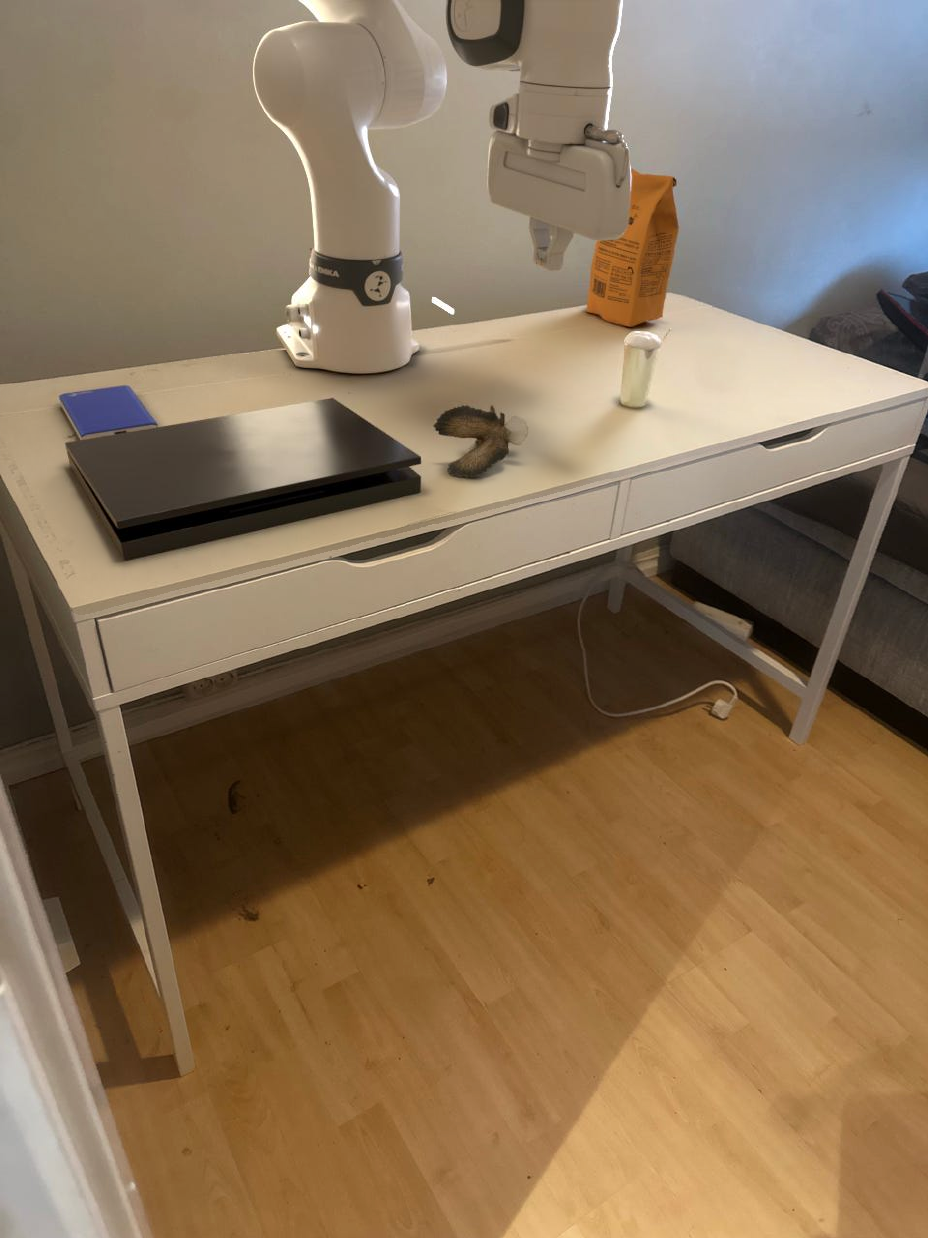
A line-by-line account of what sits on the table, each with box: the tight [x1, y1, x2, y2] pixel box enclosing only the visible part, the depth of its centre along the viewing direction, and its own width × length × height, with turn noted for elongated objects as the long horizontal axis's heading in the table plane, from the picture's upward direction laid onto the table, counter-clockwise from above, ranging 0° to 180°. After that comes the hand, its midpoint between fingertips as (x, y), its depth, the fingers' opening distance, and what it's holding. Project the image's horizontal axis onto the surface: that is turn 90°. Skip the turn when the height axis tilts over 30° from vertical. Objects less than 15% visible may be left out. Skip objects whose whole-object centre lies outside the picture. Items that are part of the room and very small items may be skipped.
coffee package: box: [585, 167, 680, 328], centre depth 141 cm, size 10×12×22 cm
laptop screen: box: [64, 397, 422, 529], centre depth 91 cm, size 21×30×1 cm
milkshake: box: [619, 328, 672, 409], centre depth 113 cm, size 4×5×10 cm
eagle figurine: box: [433, 404, 529, 478], centre depth 97 cm, size 8×7×9 cm
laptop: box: [66, 450, 422, 561], centre depth 92 cm, size 21×30×2 cm
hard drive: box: [58, 384, 159, 440], centre depth 102 cm, size 2×8×12 cm
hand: (547, 267), depth 94 cm, fingers closed
